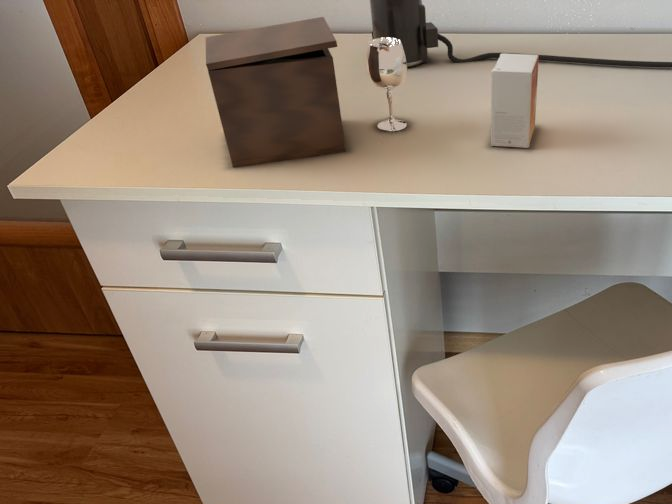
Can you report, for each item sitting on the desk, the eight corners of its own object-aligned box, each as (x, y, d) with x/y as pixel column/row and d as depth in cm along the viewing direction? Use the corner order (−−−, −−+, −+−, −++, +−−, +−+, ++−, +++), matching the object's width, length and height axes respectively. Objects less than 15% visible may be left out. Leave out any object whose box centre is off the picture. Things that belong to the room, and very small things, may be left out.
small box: (528, 149, 95) (532, 72, 88) (489, 146, 95) (490, 70, 89) (536, 127, 100) (539, 53, 94) (499, 124, 101) (500, 52, 95)
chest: (333, 120, 104) (320, 32, 96) (346, 151, 95) (332, 57, 87) (230, 133, 101) (207, 43, 92) (232, 167, 92) (207, 71, 83)
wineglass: (373, 119, 104) (364, 37, 96) (410, 117, 104) (404, 35, 96) (372, 134, 100) (363, 49, 92) (411, 132, 100) (405, 47, 92)
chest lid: (324, 22, 95) (323, 16, 94) (337, 46, 86) (336, 40, 86) (207, 43, 92) (205, 37, 92) (208, 70, 83) (205, 63, 83)
